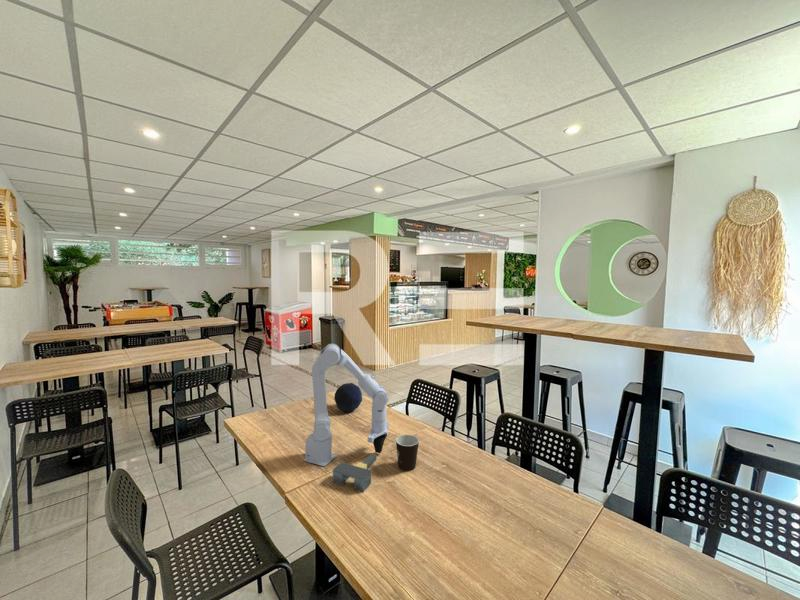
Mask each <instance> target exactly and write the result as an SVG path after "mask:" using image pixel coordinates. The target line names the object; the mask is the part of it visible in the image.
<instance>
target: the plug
mask: <svg viewBox="0 0 800 600" xmlns="http://www.w3.org/2000/svg"><path fill="white" fill-rule="evenodd" d="M377 454H378V453H372V452H371V453H370V454H369V455H368V456H367V457H366V458H364V460H363V461H362V462H360V461H359V462H357V464H355V466H357V467H361V468H364V469H368V470H370V468H371V467H372V466H373V465H374V463H375V462H377V457H378V456H377Z"/></svg>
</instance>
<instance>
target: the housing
mask: <svg viewBox="0 0 800 600" xmlns="http://www.w3.org/2000/svg"><path fill="white" fill-rule="evenodd" d="M349 478H352V479H354V483H353V485H354V486H353V487H354V488H353V489H354V490H357V491H359V492H362V493H364V492H366V490H367V489H368V488H369V486H370V485H372V470H371V469H364V468H361V467H357V466H356V465H353V464H350V463H346V462H342V461H341V462H339V463H338V464H337V465H336V466H335V467H334V468H333V469H332V483H334V484H338V485H340V486H342V485H343V484H344V483H346V482H347V481H348V480H349Z"/></svg>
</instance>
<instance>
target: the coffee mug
mask: <svg viewBox="0 0 800 600" xmlns="http://www.w3.org/2000/svg"><path fill="white" fill-rule="evenodd" d="M419 443H420V439H419V437H417V436H416V435H413V434H400V435H398V436H397V437H396V438H395V445H396V446H395V447H396V457H397V465H398V468H399V470H401V471H403V472H411V471H414V470H415V469H416V465H417V460H418V459H417V457H418V450H419Z"/></svg>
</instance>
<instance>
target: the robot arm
mask: <svg viewBox="0 0 800 600" xmlns="http://www.w3.org/2000/svg"><path fill="white" fill-rule="evenodd" d="M335 365H337V367H344V368H345V369H347V371H348V372H349V373H350V374H352V375H353V376H354V377H355V378H356V380H358V381H357V386H358V387H359V388H360V389H362V390H363V392H364V393H366V395H367V396H368V397H370V398H372V399H371V400H372V402H371V403H372V405H371V428H370V432H369V435H368V436H367V443H370V444H372V443H373V448H374V450H375V451H374V452H375V454H382V452H383V447H384V444H385V441H386V438H387V437H388V434H389V432H390V431H389V429H388V428H389V426H390V425H389V424H390V422H388V421H387V403H388V401H389V398H388V395H387V392H386V390H385V388H384V386H382V385H381V384H379V383H378V382H377V381H376V380H375V376H373V375H372V374H369V373H364V371H362V369H360V367H359V366H358V365H357V364H356V362H355V361H354V360H353V359H352V358H351V357H350V356H349V355H348V354H347V353H346V352H345V351H344V350H343V349H342V348H340V347H339V346H338V344H336V343H329V344H327V345H326V346H324V348H322V349H321V351H320V352H319V354H318V356H317V357H316V359H315V361H314V363H313V364H312V367H311V375H312V389H313V391H312V393H313V405H314V423H313V431H312V433H310V434H309V435H308V436H307V438H306V439H305V458H304V459H303V461H304V462H307V463H310V464H314V465H318V466H321V467H326V466H327V465H328V464H329V463H331V461H333V460H334V459H335V458H336V457H337V454H334V453H333V451H332V450H333V449H332V447H333V446H332V442H333V441H332V439H333V437H332V436H333V434H332V432H331V422H332V421H331V418H330V417H329V413H328V405H327V404H328V403H327V390H326V387H327V386H326V375H325V374H326V373H325V372H326V371H327V370H329V368H331V367H333V366H335Z"/></svg>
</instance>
